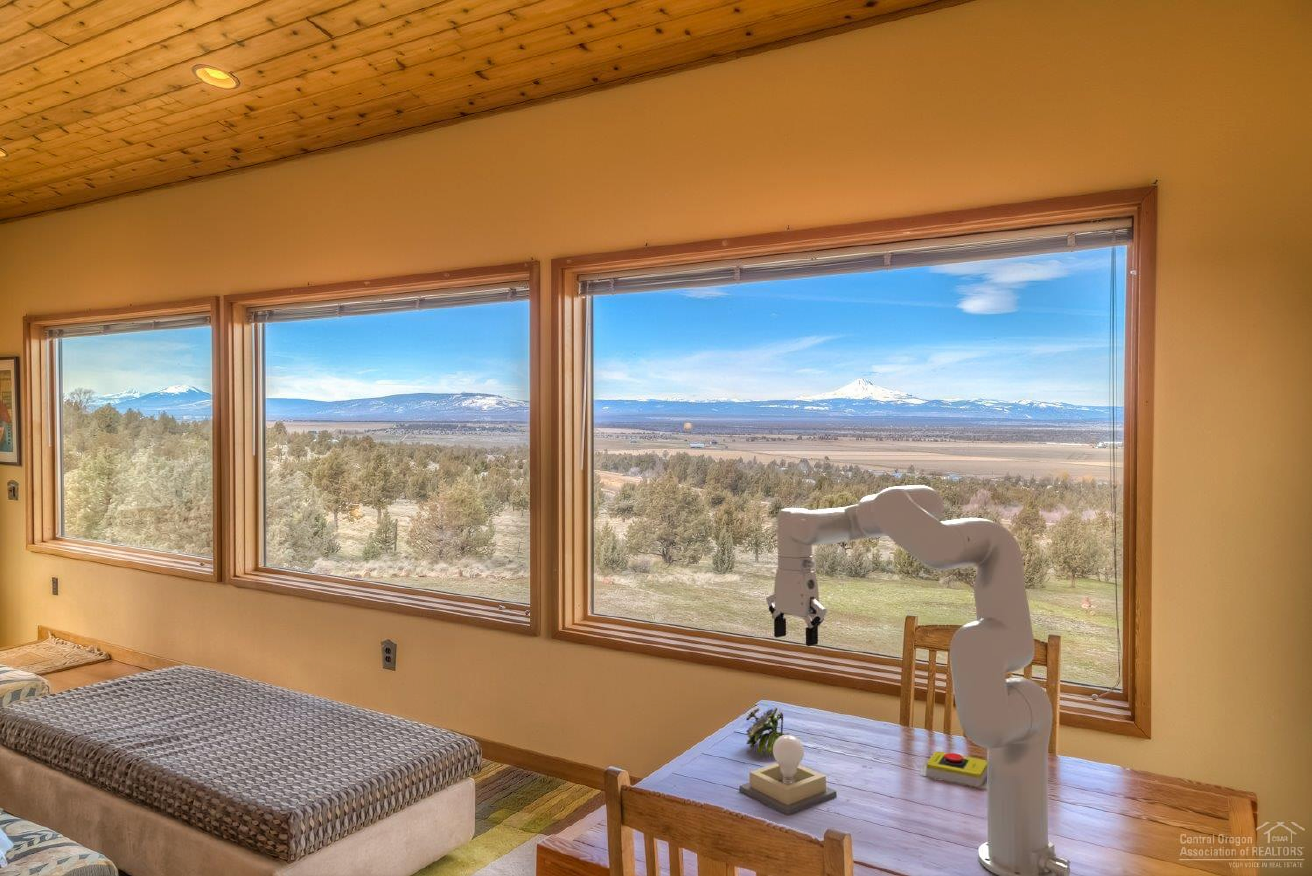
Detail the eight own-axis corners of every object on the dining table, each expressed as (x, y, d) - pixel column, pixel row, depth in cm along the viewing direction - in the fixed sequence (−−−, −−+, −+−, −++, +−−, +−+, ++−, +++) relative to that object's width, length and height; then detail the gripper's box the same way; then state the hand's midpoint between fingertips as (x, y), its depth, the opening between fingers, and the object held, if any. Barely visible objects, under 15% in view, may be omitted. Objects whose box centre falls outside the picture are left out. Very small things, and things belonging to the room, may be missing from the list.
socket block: (836, 796, 169) (836, 776, 169) (787, 815, 161) (787, 794, 161) (787, 773, 180) (787, 755, 180) (739, 790, 172) (739, 771, 172)
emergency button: (928, 743, 187) (999, 756, 179) (929, 763, 187) (999, 777, 179) (917, 757, 179) (991, 771, 171) (918, 777, 179) (991, 793, 171)
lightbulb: (768, 791, 169) (768, 738, 169) (779, 780, 175) (778, 728, 174) (798, 797, 166) (798, 743, 166) (808, 785, 172) (807, 733, 172)
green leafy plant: (754, 768, 197) (751, 717, 204) (799, 764, 194) (794, 713, 201) (742, 756, 188) (739, 703, 195) (789, 751, 185) (784, 698, 192)
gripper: (836, 566, 178) (837, 645, 179) (779, 557, 192) (780, 631, 192) (812, 570, 174) (812, 651, 174) (755, 561, 188) (756, 636, 188)
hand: (795, 640), depth 183 cm, fingers open, 9 cm apart
